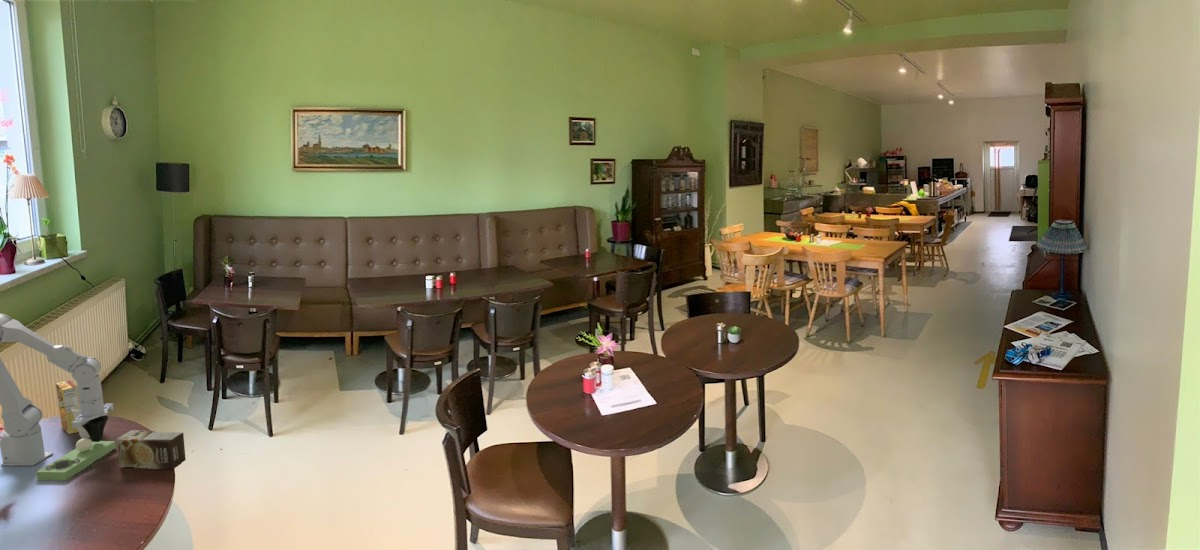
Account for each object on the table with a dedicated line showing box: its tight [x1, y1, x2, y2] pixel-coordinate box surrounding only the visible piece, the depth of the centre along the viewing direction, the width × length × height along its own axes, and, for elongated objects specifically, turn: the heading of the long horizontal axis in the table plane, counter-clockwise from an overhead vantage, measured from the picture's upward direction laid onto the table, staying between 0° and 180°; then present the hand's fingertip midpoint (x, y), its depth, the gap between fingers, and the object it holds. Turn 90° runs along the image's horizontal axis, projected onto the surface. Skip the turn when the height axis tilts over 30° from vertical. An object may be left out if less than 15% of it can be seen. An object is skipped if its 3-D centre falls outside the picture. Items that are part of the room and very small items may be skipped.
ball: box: [75, 438, 92, 452], centre depth 203 cm, size 4×4×4 cm
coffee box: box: [116, 429, 187, 471], centre depth 201 cm, size 9×6×16 cm
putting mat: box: [35, 440, 117, 481], centre depth 201 cm, size 8×20×2 cm, turn 0°
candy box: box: [55, 380, 80, 435], centre depth 223 cm, size 9×4×15 cm, turn 50°
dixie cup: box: [71, 402, 91, 439], centre depth 220 cm, size 8×8×10 cm
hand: (97, 440), depth 209 cm, fingers closed
